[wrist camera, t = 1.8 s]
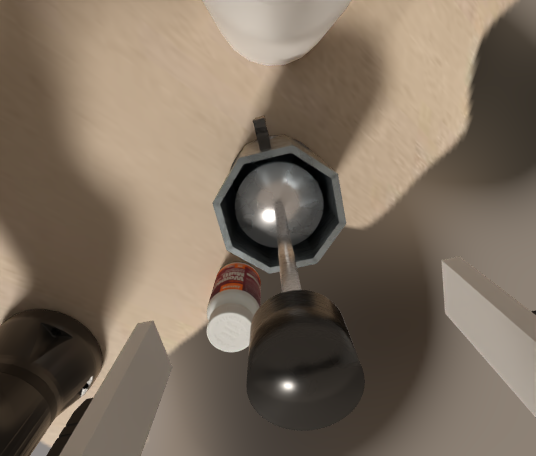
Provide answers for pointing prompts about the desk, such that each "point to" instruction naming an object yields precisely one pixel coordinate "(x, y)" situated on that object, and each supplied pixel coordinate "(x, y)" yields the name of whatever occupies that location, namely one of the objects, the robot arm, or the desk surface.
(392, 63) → the desk surface
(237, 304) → the pill bottle
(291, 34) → the can
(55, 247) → the desk surface
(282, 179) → the plunger
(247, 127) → the desk surface
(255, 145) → the grey octagonal container
